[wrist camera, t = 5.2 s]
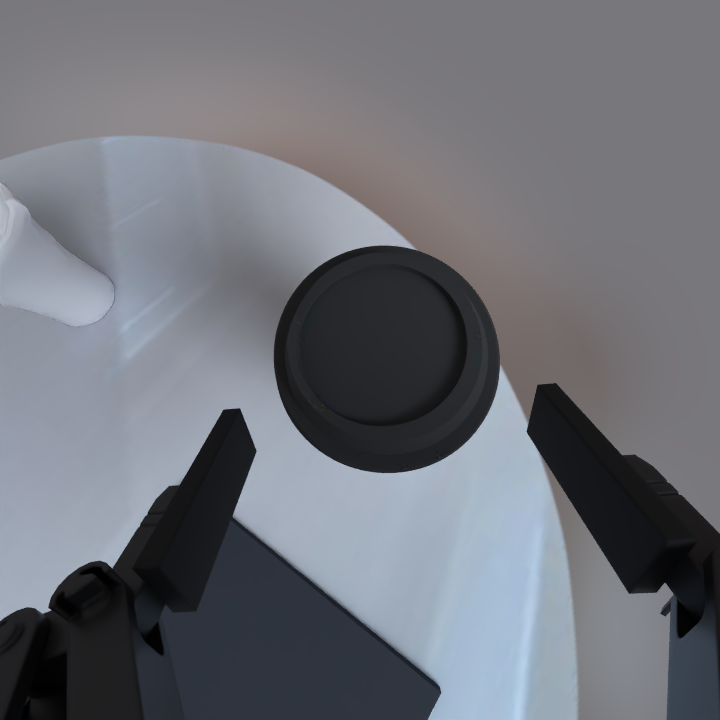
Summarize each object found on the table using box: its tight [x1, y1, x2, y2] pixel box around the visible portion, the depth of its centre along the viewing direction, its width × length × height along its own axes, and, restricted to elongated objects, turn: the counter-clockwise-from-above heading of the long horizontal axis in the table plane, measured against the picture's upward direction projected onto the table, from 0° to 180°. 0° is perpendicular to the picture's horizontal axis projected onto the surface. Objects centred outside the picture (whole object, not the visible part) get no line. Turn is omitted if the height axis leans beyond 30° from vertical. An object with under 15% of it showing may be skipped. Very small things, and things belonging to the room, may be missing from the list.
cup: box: [0, 181, 115, 327], centre depth 24 cm, size 9×9×10 cm
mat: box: [160, 518, 441, 720], centre depth 20 cm, size 22×20×1 cm
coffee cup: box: [274, 246, 500, 473], centre depth 18 cm, size 9×9×15 cm
